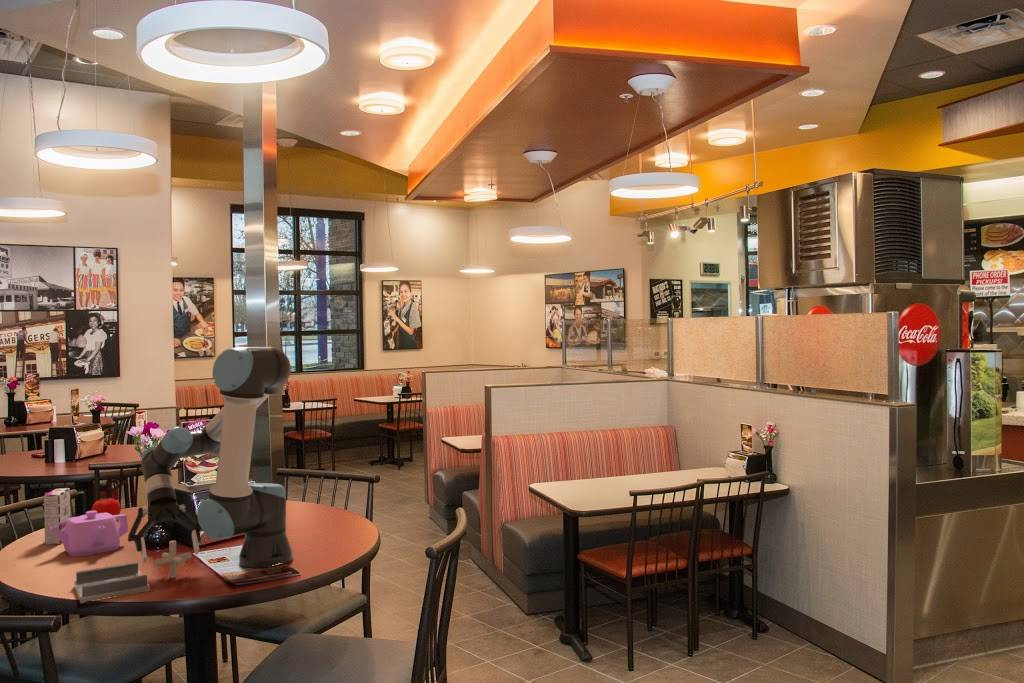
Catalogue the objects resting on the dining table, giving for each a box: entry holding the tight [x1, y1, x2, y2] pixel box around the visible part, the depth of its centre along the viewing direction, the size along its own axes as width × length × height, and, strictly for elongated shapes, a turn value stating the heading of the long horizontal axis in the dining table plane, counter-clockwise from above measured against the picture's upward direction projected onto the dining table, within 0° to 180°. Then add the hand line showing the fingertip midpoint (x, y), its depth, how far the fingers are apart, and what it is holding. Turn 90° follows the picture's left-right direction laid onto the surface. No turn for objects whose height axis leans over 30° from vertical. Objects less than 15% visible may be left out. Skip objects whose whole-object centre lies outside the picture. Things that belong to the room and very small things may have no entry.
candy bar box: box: [43, 487, 72, 546], centre depth 256 cm, size 11×5×16 cm, turn 14°
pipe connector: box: [153, 540, 193, 579], centre depth 215 cm, size 10×10×10 cm
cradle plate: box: [73, 561, 150, 604], centre depth 206 cm, size 16×16×4 cm
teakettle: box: [50, 510, 129, 558], centre depth 244 cm, size 17×17×12 cm
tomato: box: [90, 496, 122, 515], centre depth 283 cm, size 9×10×8 cm
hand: (171, 556), depth 215 cm, fingers open, 13 cm apart
